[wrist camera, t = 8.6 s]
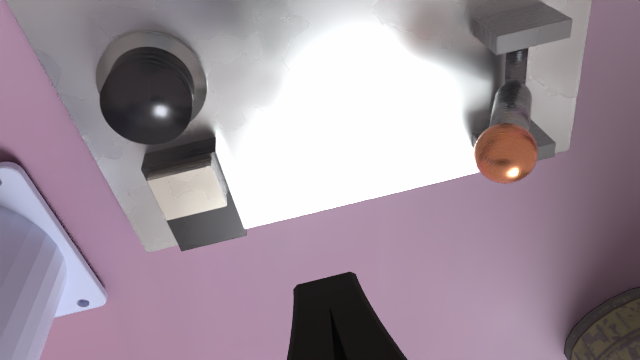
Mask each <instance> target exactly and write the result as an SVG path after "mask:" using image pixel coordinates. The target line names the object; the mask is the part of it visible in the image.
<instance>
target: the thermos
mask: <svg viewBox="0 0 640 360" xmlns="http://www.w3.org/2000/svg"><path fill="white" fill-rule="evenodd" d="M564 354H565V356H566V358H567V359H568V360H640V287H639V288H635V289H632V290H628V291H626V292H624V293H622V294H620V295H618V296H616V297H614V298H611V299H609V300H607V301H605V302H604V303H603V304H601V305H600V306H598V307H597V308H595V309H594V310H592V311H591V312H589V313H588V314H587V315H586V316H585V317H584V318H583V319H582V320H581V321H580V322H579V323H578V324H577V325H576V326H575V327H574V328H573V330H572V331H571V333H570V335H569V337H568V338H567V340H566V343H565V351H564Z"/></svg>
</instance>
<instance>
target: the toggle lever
mask: <svg viewBox="0 0 640 360" xmlns="http://www.w3.org/2000/svg"><path fill="white" fill-rule="evenodd" d="M528 49H529V48H524V49H520V50H516V51H512V52H508V53H506V61H505V80H504V85H503V86H501V87H500V88H499V89H498V91H497V93H496V95H495V99H494V104H493V109H492V114H491V119H490V124H489V128H488V129H486V130H485V131H484V132H483V133H482V134H481V135H480V136H479V138H478V139H477V141H476V143H475V147H474V161H475V164H476V166H477V168H478V170H479V171H480V172H481V173H482V174H483V175H484V176H485V177H486V178H488V179H490V180H492V181H494V182H498V183H513V182H516V181H519V180H521V179H523V178H524V177H526V176H527V175H528V174H529V173H530V172H531V171H532V170H533V168H534V167H535V165H536V162H537V158H538V146H537V143H536V141H535V139H534V137H533V136H532V134H531V133H530V132H529V127H530V116H531V105H532V95H531V92H530V90H529V88H528V87H527V86H526V73H527V61H528Z"/></svg>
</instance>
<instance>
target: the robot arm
mask: <svg viewBox="0 0 640 360" xmlns="http://www.w3.org/2000/svg"><path fill="white" fill-rule="evenodd" d="M0 180H1V181H0V360H39V359H40V356H41V353H42V350H43V348H44V345H45V342H46V339H47V336H48V333H49V330H50V328H51V325H52V322H53V319H54V318H55V317H59V316H63V315H67V314H71V313H75V312H79V311H84V310H88V309H92V308H96V307H100V306H102V305H104V304H105V303H106V299H107V292H106V290H105V289H104V288H103V286H102V285H101V283H100V282H99V280H98V279H97V277H96V276H95V274H94V273H93V271H92V270H91V268H90V267H89V265H88V264H87V262H86V261H85V260H84V258H83V257H82V255H81V254H80V252H79V251H78V249H77V248H76V246H75V245H74V243H73V242H72V240H71V239H70V237H69V236H68V234H67V233H66V231H65V230H64V229H63V227H62V226H61V224H60V223H59V221H58V220H57V218H56V217H55V215H54V214H53V212H52V211H51V209H50V208H49V206H48V205H47V203H46V202H45V200H44V199H43V198H42V196H41V195H40V193H39V192H38V190H37V189H36V187H35V186H34V184H33V183H32V181H31V180H30V178H29V177H28V175H27V174H26V172H25V171H24V170H23V169H22V168H21V167H20V166H19V165H17V164H15V163H12V162H1V163H0ZM293 290H294V305H293V320H292V329H291V337H290V345H289V350H288V356H287V360H407V358H406V357H405V356H404V354H403V353H402V352H401V350H400V349H399V347H398V346H397V344H396V343H395V342H394V340H393V339H392V337H391V336H390V335H389V333H388V332H387V330H386V329H385V327H384V326H383V324H382V323H381V321H380V320H379V318H378V316H377V315H376V313H375V311H374V310H373V308H372V307H371V305H370V303H369V301H368V299H367V298H366V296H365V294H364V292H363V290H362V288H361V286H360V284H359V281H358V279H357V276H356V274H354V273H352V272H347V273H343V274H339V275H335V276H331V277H327V278H323V279H319V280H315V281H311V282H307V283H303V284H299V285H297V286H296V287H295V288H294V289H293ZM82 299H85V300H82Z"/></svg>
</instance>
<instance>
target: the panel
mask: <svg viewBox="0 0 640 360" xmlns="http://www.w3.org/2000/svg"><path fill="white" fill-rule="evenodd" d="M6 2H7V3H8V5H9V7H10V9H11V11H12V12H13V14H14V16H15V18H16V20H17V21H18V23H19V25H20V27H21V28H22V30H23V32H24V34H25V36H26V37H27V39H28V41H29V43H30V45H31V46H32V48H33V50H34V52H35V53H36V55H37V57H38V59H39V61H40V62H41V64H42V66H43V68H44V70H45V71H46V73H47V75H48V77H49V79H50V80H51V82H52V84H53V86H54V87H55V89H56V91H57V93H58V95H59V96H60V98H61V100H62V102H63V104H64V105H65V107H66V109H67V111H68V112H69V114H70V116H71V118H72V120H73V121H74V123H75V125H76V127H77V129H78V130H79V132H80V134H81V136H82V137H83V139H84V141H85V143H86V145H87V146H88V148H89V150H90V152H91V154H92V155H93V157H94V159H95V161H96V162H97V164H98V166H99V168H100V170H101V171H102V173H103V175H104V177H105V179H106V180H107V182H108V184H109V186H110V188H111V189H112V191H113V193H114V195H115V196H116V198H117V200H118V202H119V204H120V205H121V207H122V209H123V211H124V213H125V214H126V216H127V218H128V220H129V221H130V223H131V225H132V227H133V229H134V230H135V232H136V234H137V236H138V238H139V239H140V241H141V243H142V245H143V246H144V248H145V250H146V252H147V253H148V252H152V251H156V250H160V249H164V248H169V247H173V246H177V245H179V247H180V249H181V251H185V250H189V249H193V248H197V247H201V246H206V245H210V244H214V243H218V242H222V241H226V240H230V239H234V238H238V237H243V236H247V231H246V229H247V228H251V227H255V226H259V225H263V224H267V223H272V222H276V221H280V220H284V219H288V218H292V217H296V216H300V215H304V214H309V213H313V212H317V211H321V210H325V209H329V208H333V207H337V206H342V205H346V204H350V203H354V202H358V201H362V200H366V199H370V198H374V197H379V196H383V195H387V194H391V193H395V192H399V191H403V190H407V189H412V188H416V187H420V186H424V185H428V184H432V183H436V182H440V181H445V180H449V179H453V178H457V177H461V176H465V175H469V174H473V173H477V172H480V171H479V170H478V168H477V166H476V164H475V161H474V147H475V143H476V141H477V139H478V138H479V136H480V135H481V134H482V133H483V132H484V131H485V130H486V129H488V128H489V124H490V119H491V114H492V109H493V104H494V99H495V95H496V93H497V91H498V89H499V88H500V87H501V86H503V85H504V80H505V61H506V53H508V52H512V51H516V50H520V49H524V48H529V49H528V61H527V73H526V86H527V87H528V88H529V90H530V92H531V95H532V105H531V116H530V127H529V132H530V133H531V134H532V136H533V137H534V139H535V141H536V143H537V146H538V158H537V160H541V159H546V158H550V157H554V155H555V154H556V153H560V152H564V151H568V150H569V146H570V140H571V133H572V127H573V120H574V114H575V107H576V101H577V95H578V88H579V82H580V75H581V69H582V62H583V56H584V49H585V43H586V36H587V30H588V24H589V17H590V11H591V4H592V0H6Z"/></svg>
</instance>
